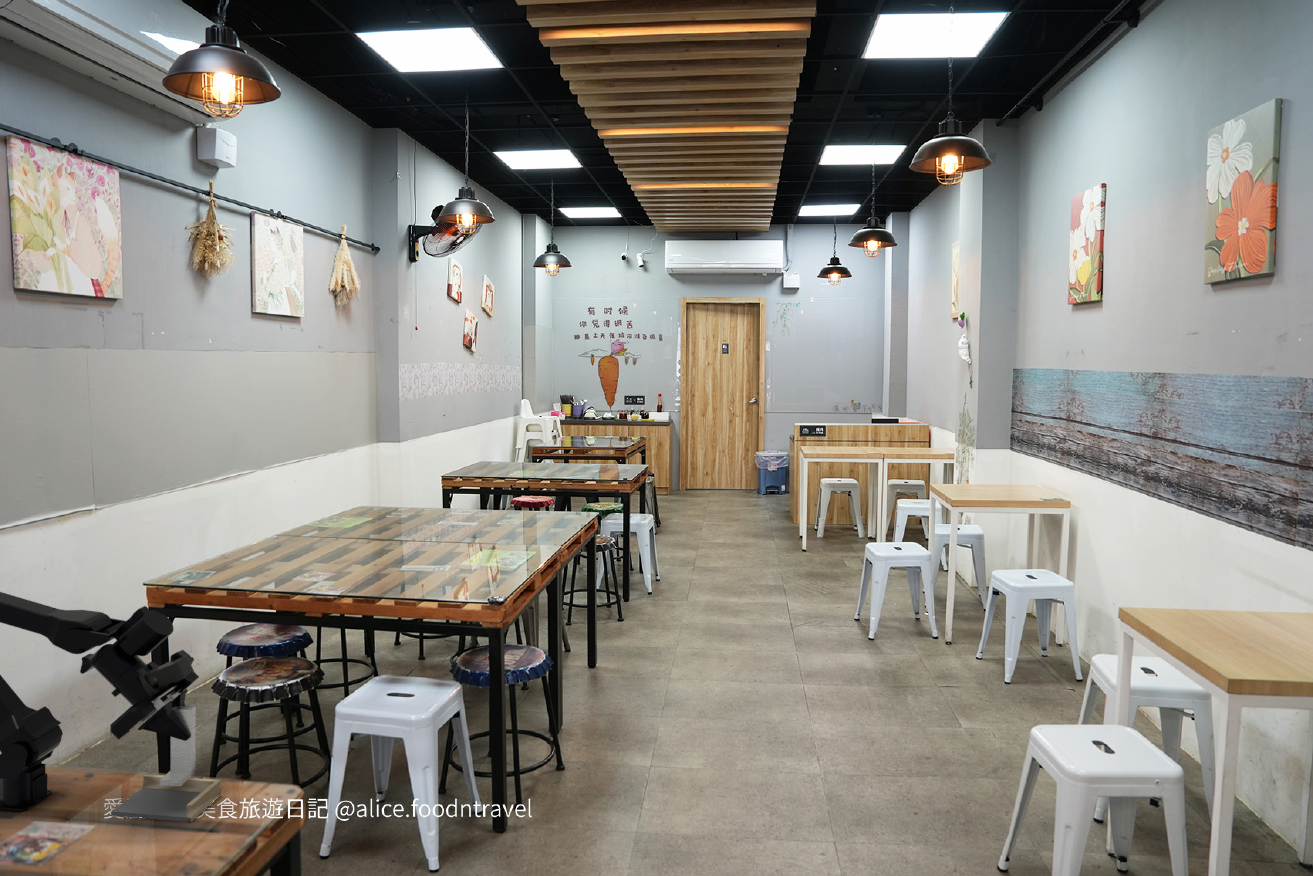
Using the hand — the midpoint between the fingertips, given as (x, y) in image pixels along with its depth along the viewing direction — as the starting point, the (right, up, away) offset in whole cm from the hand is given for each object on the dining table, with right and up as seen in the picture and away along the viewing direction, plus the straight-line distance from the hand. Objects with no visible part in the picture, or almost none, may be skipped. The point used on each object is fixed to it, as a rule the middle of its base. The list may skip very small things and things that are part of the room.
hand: (191, 736), depth 145 cm
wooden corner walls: (-4, -12, 0) cm, 13 cm away
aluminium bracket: (-2, -7, -1) cm, 7 cm away
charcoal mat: (-4, -12, 0) cm, 13 cm away
